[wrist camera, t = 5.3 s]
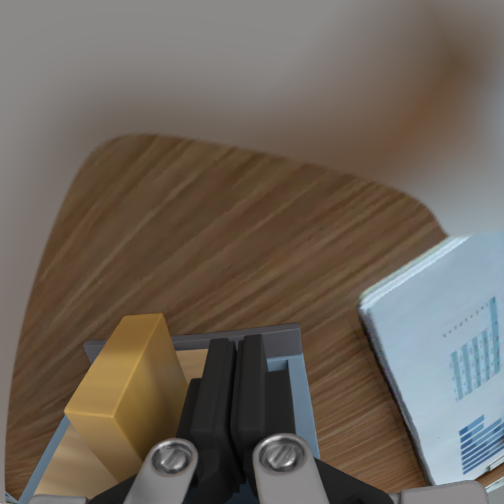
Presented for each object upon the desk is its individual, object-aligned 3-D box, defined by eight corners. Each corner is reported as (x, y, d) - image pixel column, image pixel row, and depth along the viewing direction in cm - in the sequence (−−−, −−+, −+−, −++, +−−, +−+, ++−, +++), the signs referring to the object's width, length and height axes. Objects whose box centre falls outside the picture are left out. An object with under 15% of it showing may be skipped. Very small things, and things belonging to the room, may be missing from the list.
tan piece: (83, 287, 14) (-40, 426, 5) (197, 272, 14) (118, 473, 5) (115, 364, 16) (42, 510, 7) (220, 359, 15) (190, 546, 6)
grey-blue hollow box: (86, 340, 16) (-10, 487, 6) (299, 321, 15) (335, 542, 5) (142, 443, 20) (104, 568, 9) (309, 437, 19) (325, 585, 8)
